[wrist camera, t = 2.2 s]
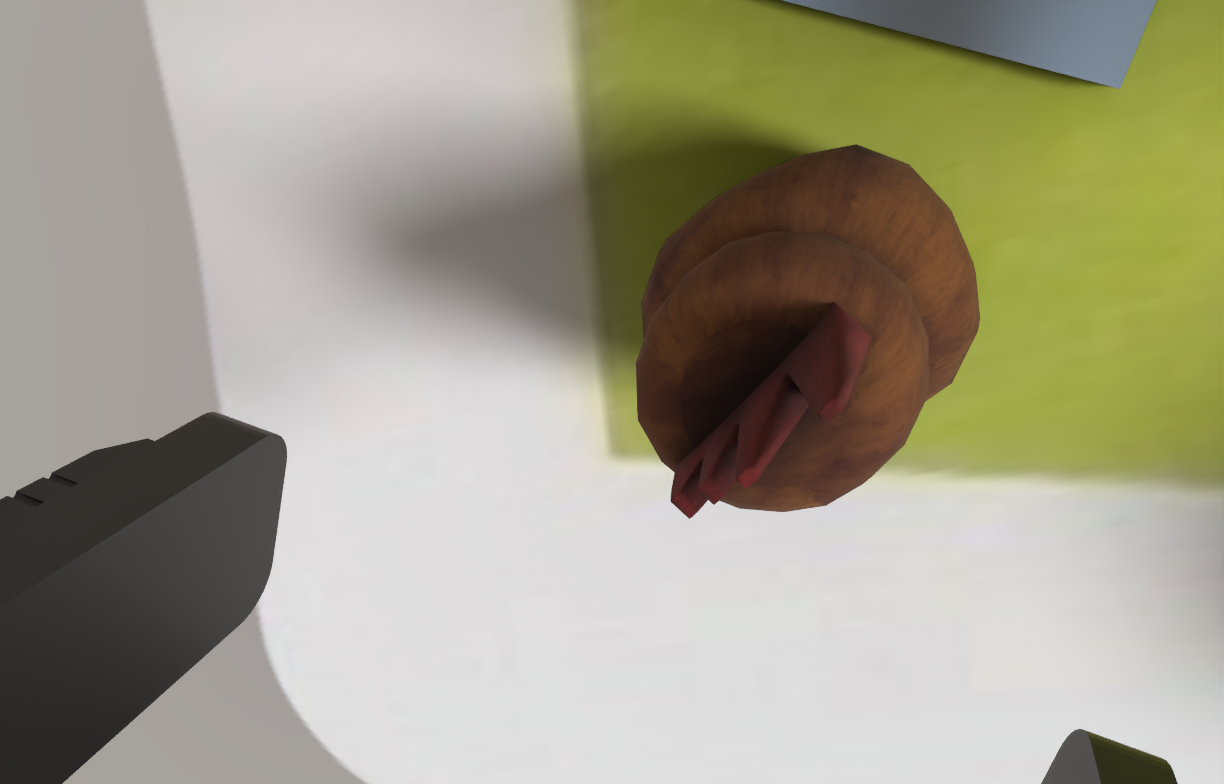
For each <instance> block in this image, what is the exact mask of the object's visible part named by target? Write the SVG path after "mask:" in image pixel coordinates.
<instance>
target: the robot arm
mask: <svg viewBox="0 0 1224 784" xmlns="http://www.w3.org/2000/svg"><path fill="white" fill-rule="evenodd" d="M286 461H287V449H286V444H285V442H284V440H283V438H282V437H281V436H279V435H277V434H274V433H271V432H269V431H266V430H263V429H260V428H258V427H255V426H252V425H249V424H247V423H244V422H241V421H238V420H236V419H233V418H230V417H227V416H225V415H222V414H219V413H215V412H210V413H206V414H204V415H202V416H200V417H198V418H196V419H194V420H193V421H191V422H189V423H187V424H185V425H184V426H182V427H180V428H179V429H176V430H175V431H173V432H171V433H169V434H167V435H165V436H164V437H162V438H160V439H158V440H156V441H153V440H150V439H144V440H139V441H135V442H130V443H126V444H122V445H117V446H113V447H108V448H104V449H100V450H95V451H93V452H91V453H89V454H87V455H85V456H83V457H81V458H79V459H77V460H75V461H73V462H71V463H70V464H68V465H66V466H64V467H62V468H60V469H58V470H56V471H55V472H52V474H51V476H50V478H49V479H46V478H41V479H39V480H37V481H35V482H33V483H31V484H29V485H27V486H26V487H24V488H22V489H20V490H18V491H16V494H15V496H14V497H13V498H11V497H8V496H6V497H4V498H2V499H1V500H0V784H62V783H63V782H64V781H66V780H67V779H68V778H69V777H70V776H71V775H72V774H73V773H74V772H76V771H77V770H78V769H79V768H80V767H81V766H82V765H83V764H85V762H87V761H88V760H89V759H90V758H91V757H92V756H93V755H95V754H96V752H98V751H99V750H100V749H101V748H102V747H104V746H105V745H106V744H107V743H108V742H109V741H110V740H111V739H112V738H114V737H115V736H116V735H117V734H118V733H119V732H120V731H121V730H123V729H124V728H125V727H126V726H127V725H128V724H129V723H130V722H132V721H133V720H134V719H135V718H136V717H137V716H138V715H139V714H140V713H141V712H143V711H144V710H145V709H146V708H147V707H148V706H149V705H150V704H152V703H153V702H154V701H155V700H156V699H157V698H158V697H159V696H160V695H162V694H163V693H164V692H165V691H166V690H167V689H168V688H170V686H172V685H173V684H174V683H175V682H176V681H177V680H178V679H179V678H181V677H182V676H183V675H184V674H185V673H186V672H187V671H188V670H190V669H191V668H192V667H193V666H194V665H195V664H196V663H197V662H199V660H201V659H202V658H203V657H204V656H205V655H206V654H208V653H209V652H210V651H211V650H212V649H213V648H214V647H215V646H216V645H218V644H219V643H220V642H221V641H222V640H223V639H224V638H225V637H227V636H228V635H229V634H230V633H231V632H232V631H233V630H234V629H235V628H237V627H238V626H239V625H240V624H241V623H242V622H243V621H244V620H245V619H246V618H247V617H248V615H249V614H250V613H251V611H252V610H253V609H254V607H255V606H256V604H257V602H258V601H259V599H260V597H261V595H262V593H263V591H264V589H265V586H266V584H267V581H268V578H269V575H270V572H271V568H272V562H273V556H274V548H275V541H276V534H277V527H278V520H279V512H280V505H281V498H282V491H283V483H284V476H285V469H286ZM1041 784H1177V781H1176V778H1175V775H1174V772H1173V770H1172V768H1171V766H1170V764H1169V763H1168V762H1167V761H1166V760H1164V759H1162V758H1159V757H1157V756H1154V755H1151V754H1148V753H1146V752H1143V751H1140V750H1137V749H1135V748H1132V747H1129V746H1126V745H1124V744H1121V743H1118V742H1115V741H1113V740H1110V739H1107V738H1104V737H1102V736H1099V735H1096V734H1093V733H1091V732H1088V731H1085V730H1082V729H1078V730H1075V731H1074V732H1072V733H1071V734H1070V735H1069V736H1068V737H1067V738H1066V740H1065V741H1064V742H1063V744H1062V746H1061V747H1060V749H1059V751H1058V753H1057V755H1056V757H1055V759H1054V760H1053V762H1052V764H1051V766H1050V768H1049V770H1048V772H1047V774H1046V776H1045V778H1044V780H1043V781H1042V783H1041Z"/></svg>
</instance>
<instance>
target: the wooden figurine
mask: <svg viewBox="0 0 1224 784" xmlns="http://www.w3.org/2000/svg"><path fill="white" fill-rule="evenodd" d="M642 315H643V333H644V341H643V344H642V347H641V350H640V353H639V356H638V359H637V362H636V379H637V412H638V421H639V423H640V425H641V426H642V428H643V430H644V432H645V433H646V435H647V437H648V438H649V440H650V442H651V444H652V445H653V447H654V449H655V451H656V452H657V454H658V456H659V458H660V459H661V461H662V462H663V463H664V464H665V465H666V466H668V467H669V468H670V469H671V470H672V471H674V472H675V475H674V480H673V485H672V491H671V502H672V503H673V504H674V505H675V506H676V507H677V508H678V509H679V510H680V511H682V512H683V513H684V514H685V515H686V516H687V517H688V518H691V517H692V516H693V515H695V514H696V513H697V512H698V511H699V510H700V508H701V507H702V506H703V505H704V504H705V503H706V501H707V500H709V501H710V502H711V503H712V504H716V503H717V502H718V501H722V502H725V503H727V504H730V505H732V506H735V507H738V508H742V509H753V510H765V511H777V512H786V511H793V510H800V509H806V508H813V507H819V506H826V505H827V504H829V503H831V502H833V501H834V500H836V499H838V498H840V497H841V496H843V495H845V494H846V493H848V492H850V491H852V490H853V489H855V488H857V487H858V486H860V485H862V484H863V483H864V482H866V481H867V480H868V479H869V478H871V477H872V476H873V475H874V474H875V473H876V472H877V471H878V470H879V469H880V468H881V467H882V466H883V465H884V464H885V463H886V462H887V461H888V460H889V459H890V458H891V457H892V456H893V455H894V454H896V453H897V452H898V451H899V450H900V449H901V448H902V447H903V446H904V445H905V443H906V441H907V439H908V437H909V434H910V432H911V430H912V428H913V426H914V424H915V422H916V420H917V418H918V415H919V413H920V411H921V409H922V407H923V405H924V403H925V401H927V400H928V399H930V398H931V397H933V396H934V395H935V394H937V393H938V392H940V391H941V390H943V389H944V388H945V387H947V386H948V385H950V384H951V383H952V382H953V380H954V378H955V376H956V374H957V372H958V370H959V368H960V366H961V364H962V362H963V360H964V358H965V356H966V354H967V352H968V350H969V348H970V346H971V344H972V342H973V340H974V338H975V336H976V334H977V332H978V327H979V321H980V312H979V302H978V292H977V282H976V272H975V268H974V264H973V261H972V259H971V256H970V254H969V251H968V249H967V247H966V244H965V242H964V240H963V237H962V235H961V232H960V230H959V228H958V225H957V223H956V221H955V218H954V216H953V213H952V211H951V210H950V208H949V207H948V206H947V205H946V203H945V202H944V201H943V200H942V199H941V198H940V197H939V196H938V195H937V194H936V193H935V192H934V191H933V190H932V188H931V187H930V186H929V185H928V184H927V183H926V182H925V181H924V180H923V179H922V178H921V177H920V176H919V175H918V174H917V172H916V171H915V170H914V169H913V168H912V167H911V166H910V165H909V164H906V163H904V162H901V161H899V160H896V159H893V158H891V157H888V156H885V155H883V154H880V153H878V152H875V151H872V150H870V149H867V148H864V147H862V146H859V145H851V146H846V147H841V148H835V149H830V150H825V151H820V152H815V153H809V154H804V155H801V156H799V157H796V158H794V159H791V160H789V161H787V162H784V163H782V164H779V165H777V166H774V167H772V168H769V169H767V170H765V171H762V172H760V173H757V174H755V175H753V176H752V177H750V178H748V179H746V180H745V181H743V182H741V183H739V184H738V185H736V186H734V187H733V188H731V189H729V190H727V191H726V192H724V193H722V194H720V195H719V196H717V197H715V198H714V199H712V200H711V201H710V202H708V203H707V204H706V205H704V206H703V207H702V208H701V209H700V210H699V211H698V212H697V213H696V214H694V215H693V216H692V217H691V218H690V219H689V220H688V221H687V222H685V223H684V224H683V225H682V226H681V227H680V228H679V229H678V230H677V231H675V232H674V233H673V234H672V235H671V236H670V237H669V238H668V239H666V240H665V242H664V244H663V246H662V247H661V249H660V251H659V253H658V256H657V259H656V262H655V265H654V268H653V270H652V273H651V276H650V279H649V282H648V285H647V288H646V291H645V294H644V296H643V299H642Z"/></svg>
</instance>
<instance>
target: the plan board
mask: <svg viewBox="0 0 1224 784" xmlns="http://www.w3.org/2000/svg"><path fill="white" fill-rule="evenodd" d="M783 1H787V2H790V3H794V4H798V5H802V6H806V7H810V8H813V9H817V10H821V11H825V12H829V13H832V14H836V15H840V16H844V17H848V18H851V19H855V20H859V21H863V22H867V23H871V24H874V25H878V26H882V27H886V28H890V29H893V30H897V31H901V32H905V33H909V34H912V35H916V36H920V37H924V38H928V39H931V40H935V41H939V42H943V43H947V44H951V45H954V46H958V47H962V48H966V49H970V50H973V51H977V52H981V53H985V54H989V55H992V56H996V57H1000V58H1004V59H1008V60H1012V61H1015V62H1019V63H1023V64H1027V65H1031V66H1034V67H1038V68H1042V69H1046V70H1050V71H1053V72H1057V73H1061V74H1065V75H1069V76H1073V77H1076V78H1080V79H1084V80H1088V81H1092V82H1095V83H1099V84H1103V85H1107V86H1111V87H1114V88H1118V89H1120V87H1121V85H1122V83H1123V80H1124V78H1125V75H1126V73H1127V71H1128V68H1129V66H1130V63H1131V61H1132V59H1133V56H1134V54H1135V51H1136V49H1137V47H1138V44H1139V42H1140V39H1141V37H1142V34H1143V32H1144V30H1145V27H1146V25H1147V22H1148V20H1149V18H1150V15H1151V13H1152V10H1153V8H1154V6H1155V3H1156V1H1157V0H783Z"/></svg>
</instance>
